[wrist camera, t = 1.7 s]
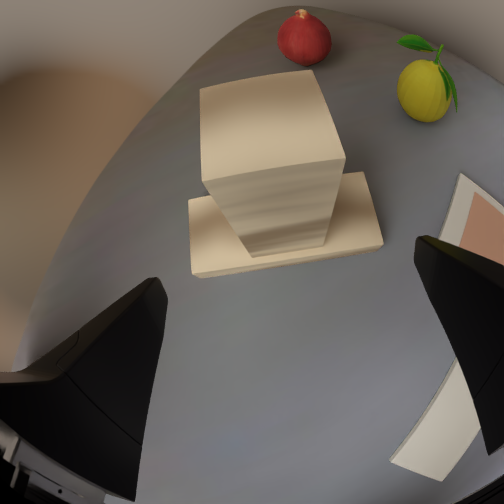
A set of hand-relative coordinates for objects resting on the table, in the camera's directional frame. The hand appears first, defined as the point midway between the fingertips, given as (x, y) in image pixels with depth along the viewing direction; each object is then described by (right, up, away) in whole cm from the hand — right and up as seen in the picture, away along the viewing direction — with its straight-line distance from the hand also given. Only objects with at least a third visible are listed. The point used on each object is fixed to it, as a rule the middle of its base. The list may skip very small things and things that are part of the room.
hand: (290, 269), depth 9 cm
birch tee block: (+1, +2, +13) cm, 14 cm away
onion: (+5, +22, +18) cm, 29 cm away
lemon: (+15, +15, +14) cm, 26 cm away
